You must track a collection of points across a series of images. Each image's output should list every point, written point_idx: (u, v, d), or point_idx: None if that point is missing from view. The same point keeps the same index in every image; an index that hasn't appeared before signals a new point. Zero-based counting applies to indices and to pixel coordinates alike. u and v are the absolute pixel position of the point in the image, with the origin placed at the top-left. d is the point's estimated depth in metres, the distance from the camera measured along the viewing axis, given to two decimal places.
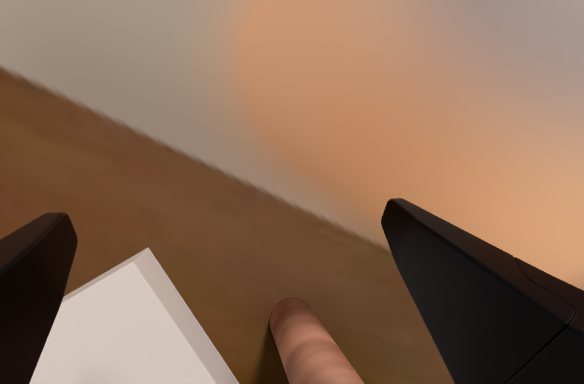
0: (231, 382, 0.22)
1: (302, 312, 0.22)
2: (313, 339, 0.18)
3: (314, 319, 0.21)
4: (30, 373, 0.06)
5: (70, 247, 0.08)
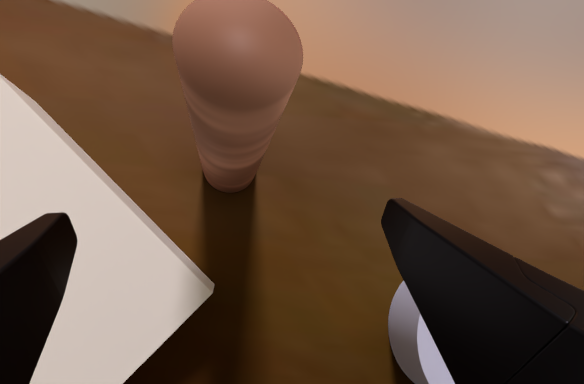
0: (162, 234, 0.18)
1: None
2: None
3: None
4: (31, 373, 0.06)
5: (70, 247, 0.08)
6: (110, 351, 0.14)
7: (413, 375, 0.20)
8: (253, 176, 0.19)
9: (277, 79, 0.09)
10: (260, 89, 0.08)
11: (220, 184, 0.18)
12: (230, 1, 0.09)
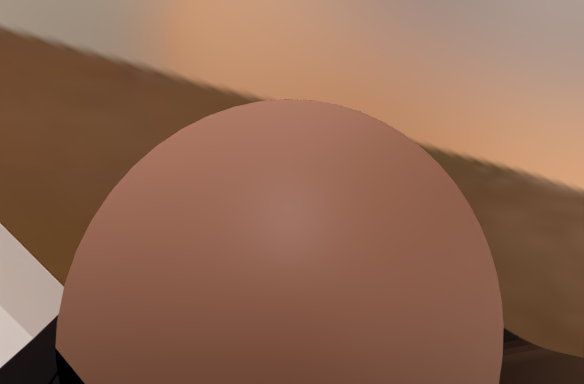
0: None
1: None
2: None
3: None
4: None
5: None
6: None
7: None
8: None
9: None
10: None
11: None
12: (275, 137, 0.03)
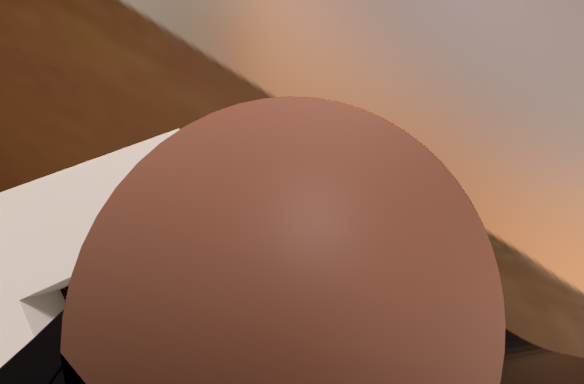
0: None
1: None
2: None
3: None
4: None
5: None
6: None
7: None
8: None
9: None
10: None
11: None
12: (278, 134, 0.03)
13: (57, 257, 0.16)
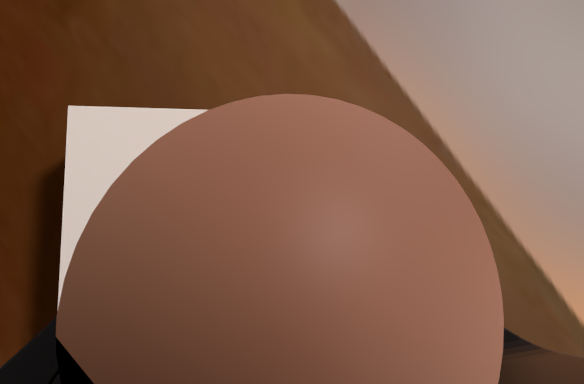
0: None
1: None
2: None
3: None
4: None
5: None
6: None
7: None
8: None
9: None
10: None
11: None
12: (275, 132, 0.03)
13: None
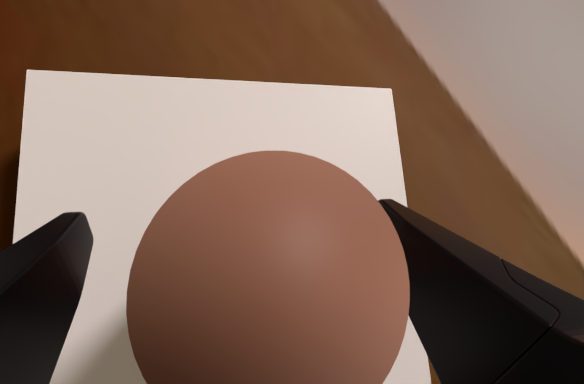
0: None
1: None
2: None
3: None
4: (52, 370, 0.06)
5: (87, 246, 0.08)
6: None
7: None
8: None
9: (362, 354, 0.04)
10: None
11: None
12: (258, 176, 0.04)
13: None
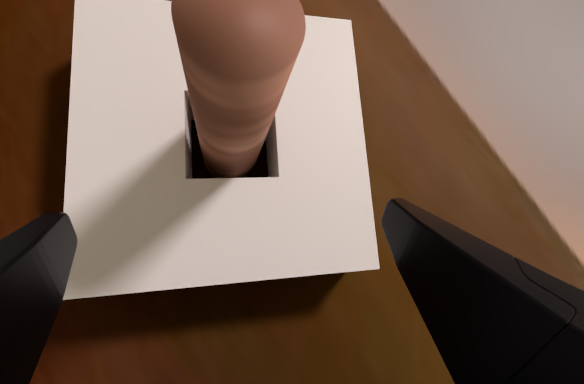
0: None
1: None
2: None
3: None
4: (31, 373, 0.06)
5: (70, 247, 0.08)
6: (294, 249, 0.16)
7: None
8: (254, 163, 0.19)
9: (279, 49, 0.08)
10: (262, 59, 0.08)
11: (220, 171, 0.18)
12: None
13: None
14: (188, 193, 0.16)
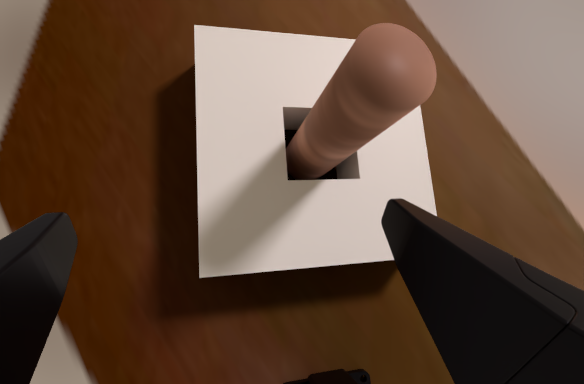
0: None
1: None
2: None
3: None
4: (30, 373, 0.06)
5: (70, 247, 0.08)
6: (375, 238, 0.20)
7: None
8: None
9: (421, 88, 0.12)
10: (411, 95, 0.12)
11: (306, 173, 0.22)
12: (385, 31, 0.12)
13: (312, 91, 0.21)
14: (290, 192, 0.19)
